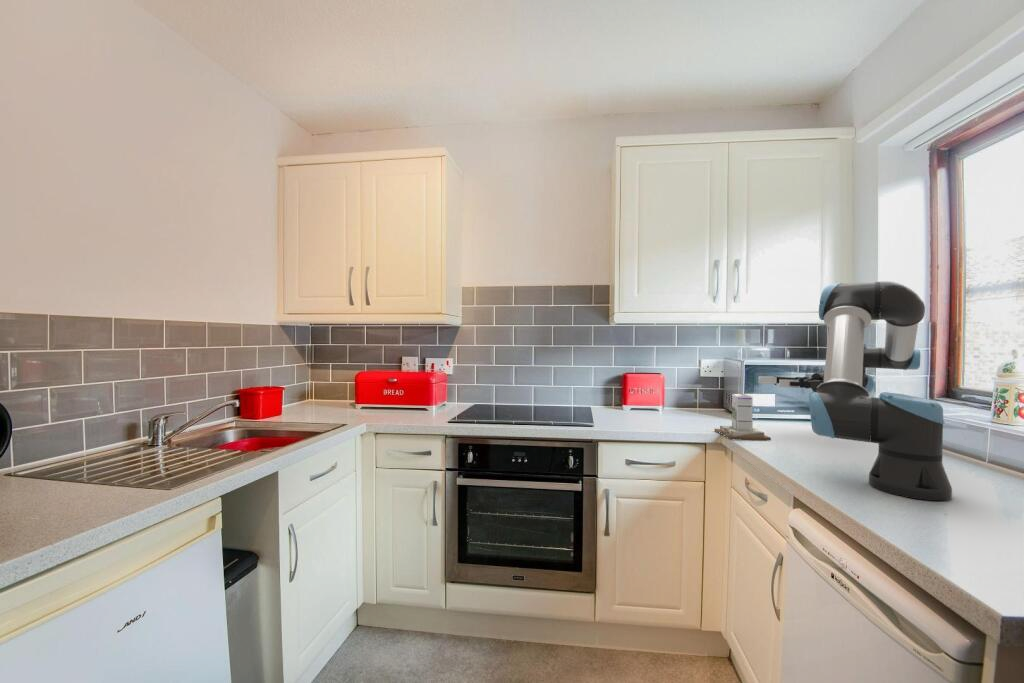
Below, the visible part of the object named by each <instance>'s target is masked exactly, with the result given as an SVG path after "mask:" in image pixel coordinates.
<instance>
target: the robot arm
mask: <svg viewBox="0 0 1024 683" xmlns="http://www.w3.org/2000/svg"><path fill="white" fill-rule="evenodd" d="M821 291H822V292H821V293H820V298H819V305H818V318H819V320H820V321H823V322H824V324H825V325H826V327H828V332H827V333H828V334H827V341H826V342H827V344H826V353H825V354H826V355H825V365H824V372H814V373H813V374H812V375H810V377H808V376H802V377H800V376H796V377H788V376H787V377H786V376H776V375H775V376H762V375H761V376H760V375H759V376H758V384H764V385H765V384H768V385H769V384H770V385H773V384H774V385H775V386H777V384H778V387H779V388H797V389H798V388H801V389H802V388H804V389H811V390H812V391H813V392H810V393H808V401H809V402H808V404H809V405H808V406H809V412H810V413H809V414H810V423H811V424H810V425H811V429H812V430H811V431H813V433H814V434H815V435H818V436H821V437H828V438H830V439H841V440H849V441H856V442H865V443H873V444H878V451H877V452H878V454H877V456H876V458H875V461H874V463H873V465H872V467H871V469H870V472H869V474H868V483H869V485H870V486H872V487H874V488H876V489H877V488H878V490H880V491H883V492H886V493H889V492H890V494H892V493H894V494H893V495H896V494H898V495H897V496H900V495H902V496H901V497H905V496H907V497H906V498H910V497H912V498H911V499H915V498H917V499H916V500H922V499H925V500H924V501H932V500H945V501H948V500H947V499H950V498H951V497H953V488H952V485H951V483H950V481H949V478H948V474H947V473H946V470H945V468H944V465H943V446H944V445H943V444H944V443H943V440H944V439H943V438H944V436H943V435H944V433H943V432H944V431H943V430H944V424H945V421H944V409H943V408H944V407H943V406H942V405H941V404H940V403H938V401H934V400H931V399H926V398H923V397H918V396H915V395H914V396H913V395H909V394H908V395H907V394H904V393H903V394H902V393H896V392H889V391H888V392H887V391H885V392H883V391H881V392H880V393H879V395H878V397H873V396H872V397H871V396H870V395H869V394H870V392H872V391H873V390H874V387H875V381H874V378H873V377H872V376H871V375H870V374H868V373H866V372H867V368H868V369H869V368H870V369H887V370H889V369H891V370H905V371H906V370H907V371H908V370H915V371H916V370H918V369H919V368H920V367H921V350H920V349H918V348H915V347H916V340H917V334H918V328H919V324H920V323H921V321H922V320H924V317H925V312H926V307H925V306H926V305H925V303H924V301H923V299H922V297H921V296H920V295H919V294H918V293H917V292H916V291H915V290H914V289H912V288H911V287H909V286H907V285H905V284H903V283H900V282H895V281H891V280H890V281H889V280H881V281H870V282H869V281H868V282H867V281H865V282H845V283H844V282H839V283H834V284H833V283H832V284H828V285H827V284H826V286H824V288H823V290H821ZM879 320H880V321H883V320H884V321H885V323H886V324H885V341H884V347H876V346H875V347H873V346H868V345H867V343H866V342H865V329H866V328H867V327H869V326H870V324H871V323H872V321H879ZM951 499H952V498H951ZM951 499H950V500H951Z"/></svg>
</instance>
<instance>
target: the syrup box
mask: <svg viewBox="0 0 1024 683" xmlns="http://www.w3.org/2000/svg"><path fill="white" fill-rule="evenodd" d="M731 397H732V398H731V426H732V429H733V430H736V431H752V428H754V427H753V425H754V424H753V419H754V418H753V414H754V413H753V411H754V410H753V406H754V405H753V402H754V401H753V400H754V399H753V397H754V396H752V395H749V394H744V393H732V395H731Z"/></svg>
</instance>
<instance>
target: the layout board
mask: <svg viewBox="0 0 1024 683" xmlns="http://www.w3.org/2000/svg"><path fill="white" fill-rule="evenodd" d="M714 430H715V431H717V432H720V433H722V434H723V435H725V436H726V437H725V436H724V437H725V438H727V437H728V438H727V439H729V440H731V441H733V440H732V439H741V440H740V441H767V440H771V441H772V438H771V437H770V436H767V435H766V434H765V432H764V431H761V430H759V429H756V428H754V427H753V428H752V431H736V430H733V429H732V425H720V426H719V428H714ZM715 431H714V432H715ZM717 432H716V433H717ZM723 435H722V436H723Z"/></svg>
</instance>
